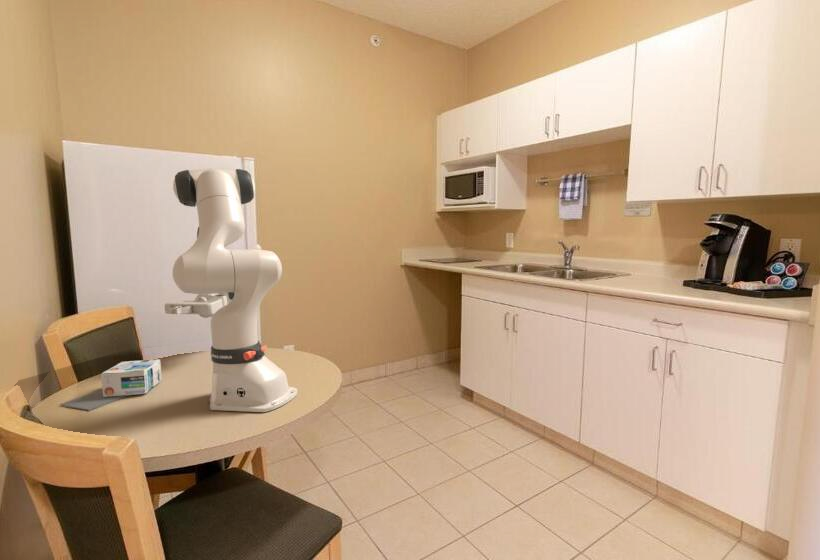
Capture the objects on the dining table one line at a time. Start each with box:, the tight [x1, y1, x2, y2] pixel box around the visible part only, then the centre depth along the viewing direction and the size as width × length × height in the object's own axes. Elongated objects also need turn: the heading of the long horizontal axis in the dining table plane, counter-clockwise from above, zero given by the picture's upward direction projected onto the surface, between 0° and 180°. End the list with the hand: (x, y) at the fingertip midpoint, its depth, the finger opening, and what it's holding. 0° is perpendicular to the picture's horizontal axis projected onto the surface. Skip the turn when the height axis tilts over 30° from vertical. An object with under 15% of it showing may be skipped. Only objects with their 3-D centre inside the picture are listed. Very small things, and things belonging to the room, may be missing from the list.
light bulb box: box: [100, 359, 163, 397], centre depth 113 cm, size 11×7×11 cm
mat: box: [59, 389, 130, 412], centre depth 108 cm, size 11×14×1 cm
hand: (173, 311), depth 129 cm, fingers closed
